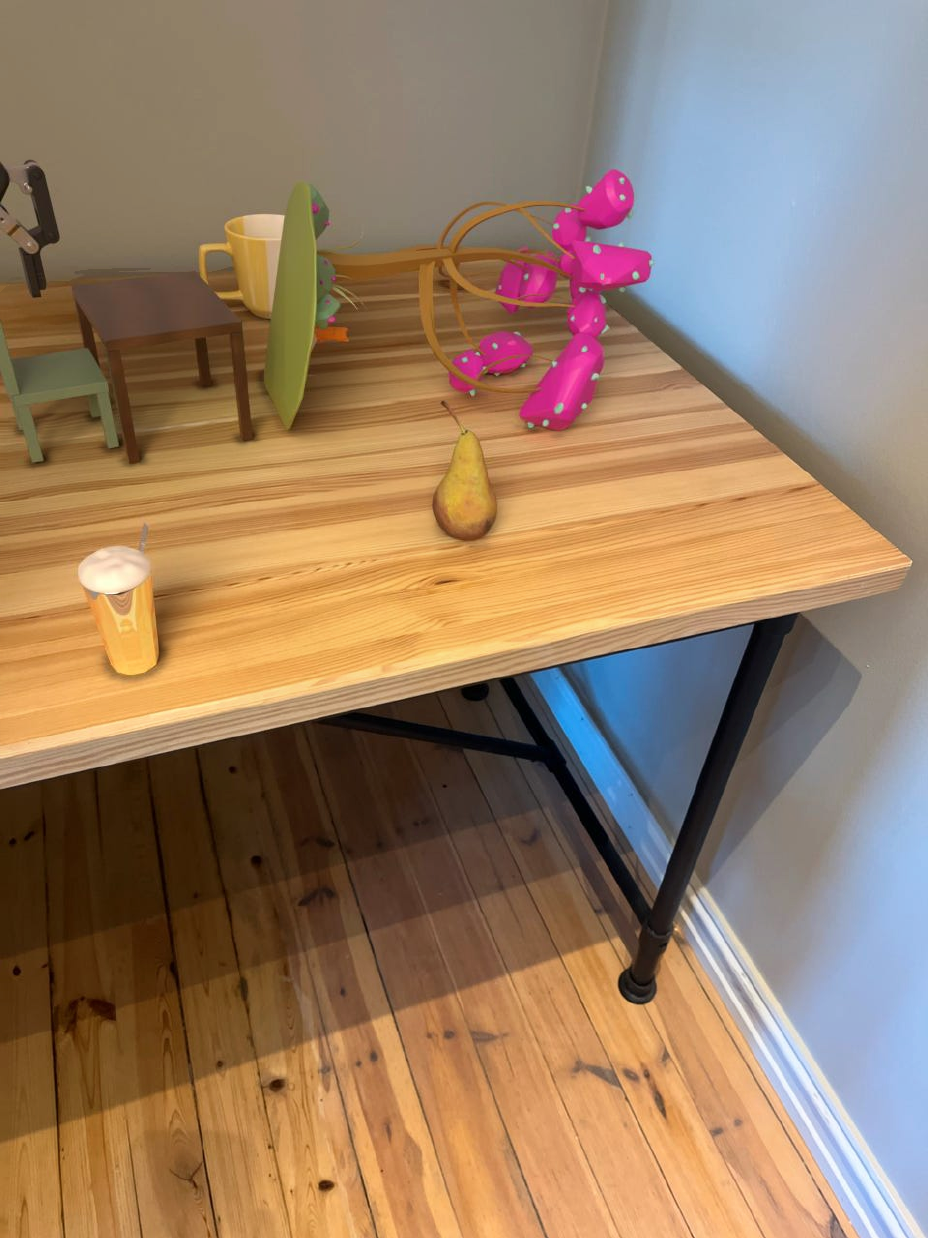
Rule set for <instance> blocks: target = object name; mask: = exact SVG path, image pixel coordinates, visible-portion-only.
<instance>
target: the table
mask: <svg viewBox="0 0 928 1238" xmlns="http://www.w3.org/2000/svg"><path fill="white" fill-rule="evenodd" d="M209 286H210V284H209V285H208V284H207V283H206V282H205V281H204V280H203V279H202V278H201V277H200V274H199V273H198V272H197V271H195V270H193V271H185V272H184V271H183V272H176V273H167V274H158V275H149V276H141V277H140V276H139V277H132V278H124V279H114V280H108V281H98V282H88V283H81V284H80V283H79V284H72V285H70V288H71V293H72V296H73V297H72V298H73V303H74V307H75V311H76V316H77V321H78V327H79V330H80V331H79V332H80V335H81V339H82V345H83V349H84V348H88V349H89V351H90V352H91V354H92V356H93V357H94V359H95V361H96V363H97V364H98V366H99V368H100V369H101V365H100V360H99V355H98V349H97V346H96V345H97V344H96V341H95V335H94V332H95V333H96V335H97V337H98V339H99V340H100V342H101V344H102V345H103V347H104V350H105V354H106V359H107V360H106V361H107V364H108V369H109V375H110V381H111V385H112V390H113V395H114V401H115V405H116V411H117V416H118V420H119V425H120V431H121V437H122V441H123V445H124V451H125V455H126V460H127V462H128V464H129V465H131V464H137V463H138V464H139V463H140V462H141V457H140V453H139V448H138V443H137V437H136V431H135V426H134V420H133V416H132V410H131V405H130V399H129V394H128V389H127V383H126V378H125V372H124V368H123V362H122V357H121V351H122V350H129V349H135V348H143V347H151V346H157V345H158V346H159V345H164V344H171V343H176V342H183V341H190V340H194V345H195V354H196V361H197V367H198V376H199V383H200V385H201V386H202V387H203V388H206V387H212V385H213V384H212V376H211V367H210V360H209V359H210V358H209V352H208V350H209V349H208V343H207V338H210V337H212V338H213V337H218V336H225V335H229V342H230V343H229V344H230V352H231V363H232V370H233V371H232V372H233V380H234V381H233V383H234V390H235V391H234V392H235V399H236V410H237V419H238V428H239V437H240V439H241V440H242V441H243V442H247V441H252V440H254V439H253V427H252V426H253V425H252V416H251V405H250V395H249V385H248V384H249V383H248V375H247V374H248V372H247V364H246V352H245V342H244V331H243V321H242V320H241V319H240V318H239V317H238V316H237V315H236V314H235V312H233V311H232V310H231V308H230V307H229V306H228V305H227V304H226V303H225V302H224V300H221V299H220V297H219V296H218V295H217V294H216V293H215V292H216V291H215V292H214V290H213V289H212V288H211V286H210V287H209ZM93 330H94V331H93Z"/></svg>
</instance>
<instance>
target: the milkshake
mask: <svg viewBox="0 0 928 1238" xmlns="http://www.w3.org/2000/svg"><path fill="white" fill-rule="evenodd" d="M148 532H149V524H147V523H143V525H142V530H141V536H140V540H139V543H140V544H139V548H138V549H136V548H133V547H128V546H126V545H113V546H106V547H103V548H99V549H97V550H96V551H94V552H92V553H91V554H89V555H88V556H86V557H85V558H84V559H83V560H82V561H81V562H80V563H79V565H78V569H77V570H78V571H77V573H78V579H79V582H80V585H81V588H82V590H83V592H84V596H85V598H86V600H87V603H88V605H89V607H90V611H91V613H92V616H93V618H94V621H95V624H96V627H97V629H98V633H99V636H100V638H101V640H102V644H103V647H104V648H105V652H106V655H107V658H108V660H109V663H110V665H111V666H112V668H113V669H114V670H115V672H116V673H118V674H123V675H127V676H134V675H136V676H137V675H140V674H141V675H142V674H144V673H145V674H146V673H147V672H148V671H150V670H151V669H152V668H155V666H157V663H158V659H159V656H160V650H159V649H160V648H159V639H158V629H157V619H156V610H155V600H154V585H153V569H152V568H153V567H152V561H151V559H150V558H149V556H147V555H146V554H145V549H146V544H147V539H148Z"/></svg>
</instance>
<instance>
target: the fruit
mask: <svg viewBox="0 0 928 1238" xmlns="http://www.w3.org/2000/svg"><path fill="white" fill-rule="evenodd" d="M440 405H441V406H443V407H444V408H445V409H446V411H448V413H449V414H450V415H451V417H452V418H453V419H454V421H455V422H456V424H457V426H458V427H459V429H460V431H461V433H460V434H459V436H458V438H457V442H456V444H455V446H454V449H453V452H452V455H451V456H452V457H451V460H450V463H449V466H448V469H447V471H446V473H445V475H444V477H443V478H441V480H440V482H439V483H438V485H437V487H436V489H435V491H434V494H433V497H432V504H431V505H432V513H433V516H434V518H435V521H436V523H437V525H438V526H439V528H440V529H441V530H442V531H443V532H444V533H445V534H446V535H447V536H449V537H450V538H453V539H456V540H460V541H473V540H474V541H475V540H478V539H481V538H483V537H484V536H486V535H487V534H488V533H489V531H490V530H491V529H492V527H493V526H494V524H495V521H496V519H497V515H498V501H497V497H496V493H495V490H494V489H493V486H492V484H491V480H490V477H489V472H488V468H487V464H486V461H485V457H484V451H483V447H482V444H481V442H480V440H479V438H478V436H477V435H476V434H475V433H474V432H473V431H472V430H470V429H466V428H465V427H464V426H463V424H462V423H461V422H460V420H459V419H458V417H457V415H456V413H455V412H454V410H453V408H451V406H450V405H449V403H447V402H446V401H445V400H441V401H440Z"/></svg>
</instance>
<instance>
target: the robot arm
mask: <svg viewBox="0 0 928 1238" xmlns="http://www.w3.org/2000/svg"><path fill="white" fill-rule="evenodd" d="M10 182H13V183H15V184H17V186H18V188H19V189H20V191H21V192H22V193H23V194H24V195H26V196H30V199H31V202H32V206H33V211H34V215H35V218H36V222H37V225H36V226H34V227H32V228H30V229H28V228H27V227H25V225H23V223H22V222H20V221H19V219H18V218H16V217H15V215H14V214H13V213H12V212H11V211H10V210H9V209H8V208H7V207H6V206H5V205H4V204H3V203H2V202H3V201H2V200H3V199H4V197H5V195H6V192H7V190H8V188H9V186H10ZM50 194H51V193H50V190H49V186H48V182H47V177H46V174H45V171H44V170H43V169H42V167H41V166H40V165H39V164H38V162H37V161H35V160H34V159H27V160H25V161H24V162H23V164H17V165H16V164H15V165H7V166H6V165H4V164H3V163H2V162H1V161H0V229H1V230H2V231H3V233H4V234H6V235H7V236H9V237H10V238H11V239H12V240H13V241H14V243H16V244H17V245H18V246H19V247H18V252H19V256H20V260H21V265H22V268H23V272H24V276H25V281H26V285H27V288H28V292H29V294H30V296H31V298H32V299H37V298H42V293H41V291H44V290H46V288H47V284H48V283H47V278H46V275H45V269H44V265H43V261H42V257H41V251H42V249H43V248H44V247H46V246H49V245H54V244H57V243H58V242H59V241H60V239H61V236H60V232H59V228H58V223H57V219H56V215H55V211H54V206H53V203H52V199H51V195H50Z"/></svg>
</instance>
